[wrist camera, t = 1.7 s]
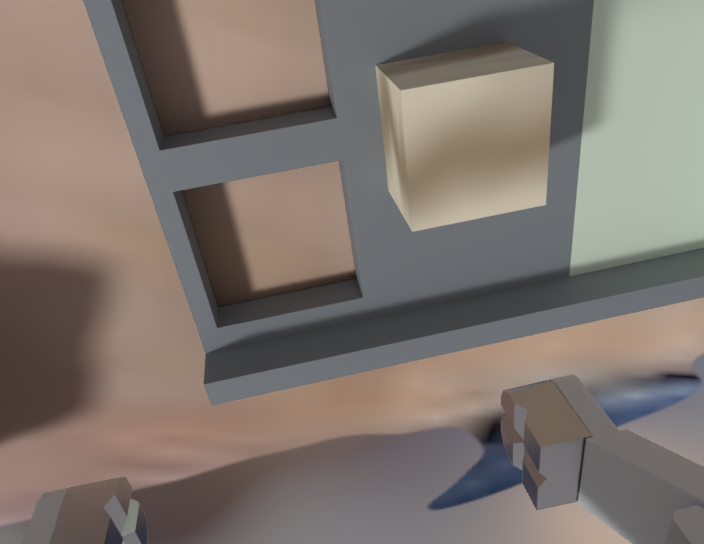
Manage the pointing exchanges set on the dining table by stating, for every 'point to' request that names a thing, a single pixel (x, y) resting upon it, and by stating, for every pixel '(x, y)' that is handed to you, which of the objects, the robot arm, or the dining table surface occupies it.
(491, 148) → the block
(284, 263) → the dining table surface
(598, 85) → the box
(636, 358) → the dining table surface
